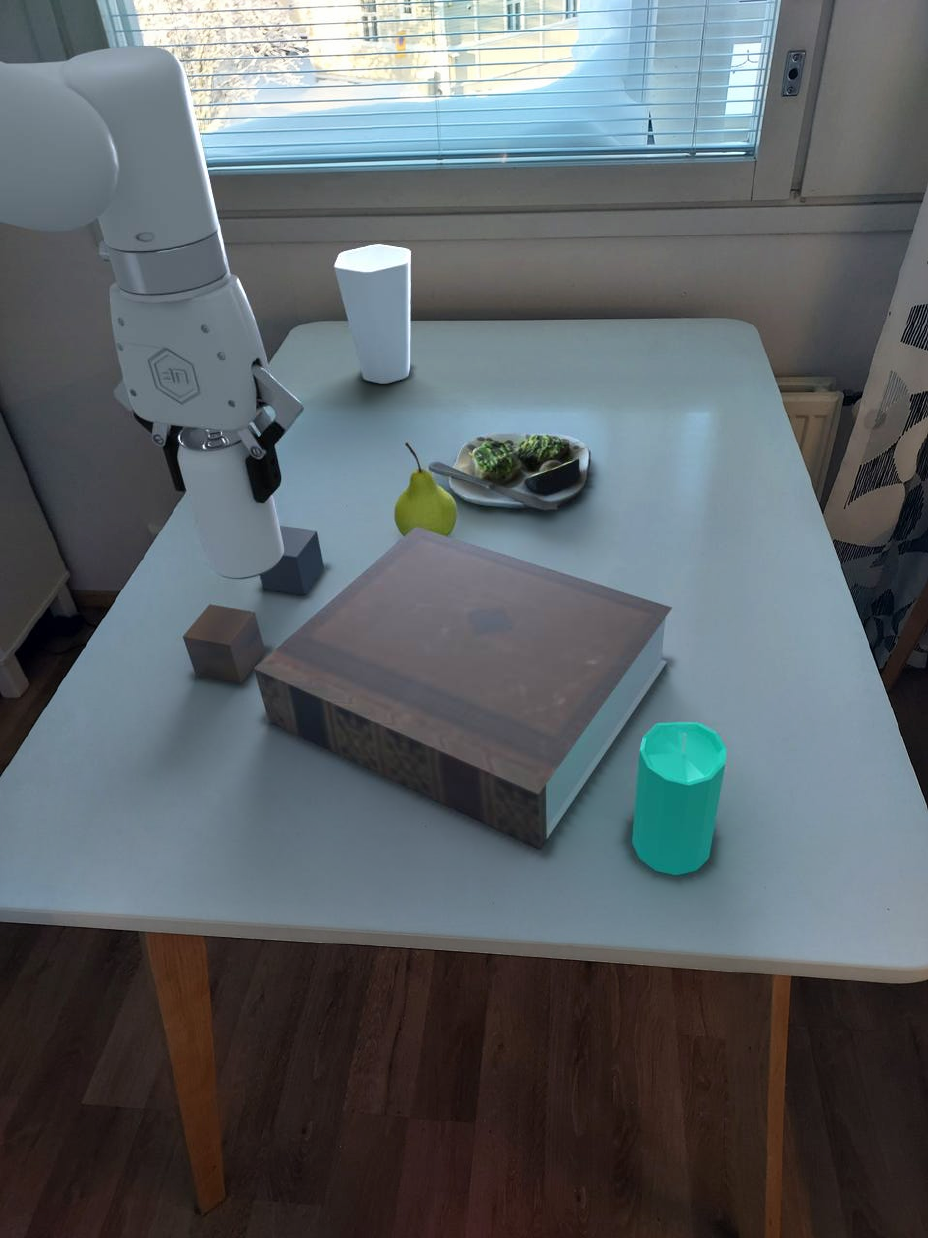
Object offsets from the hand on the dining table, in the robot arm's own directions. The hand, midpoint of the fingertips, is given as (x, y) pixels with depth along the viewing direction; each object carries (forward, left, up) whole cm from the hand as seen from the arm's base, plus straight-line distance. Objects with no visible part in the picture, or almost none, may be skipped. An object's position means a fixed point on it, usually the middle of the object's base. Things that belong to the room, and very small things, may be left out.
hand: (228, 486), depth 74 cm
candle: (+38, -9, -22) cm, 45 cm away
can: (0, 0, -7) cm, 7 cm away
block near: (-6, +1, -22) cm, 23 cm away
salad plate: (+13, +40, -22) cm, 48 cm away
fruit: (+6, +25, -22) cm, 34 cm away
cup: (-15, +65, -22) cm, 70 cm away
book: (+18, +3, -22) cm, 28 cm away
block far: (-6, +15, -22) cm, 27 cm away
